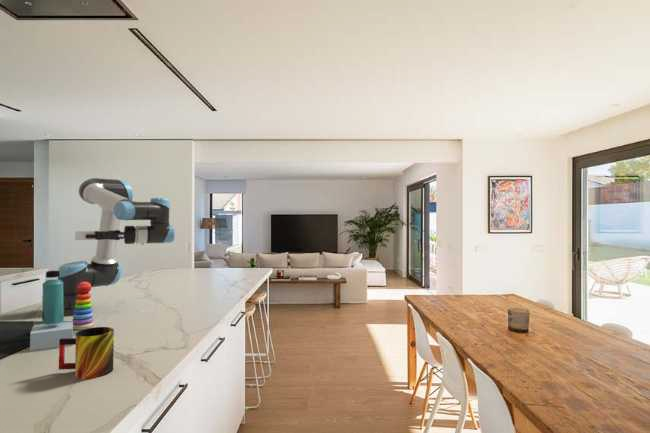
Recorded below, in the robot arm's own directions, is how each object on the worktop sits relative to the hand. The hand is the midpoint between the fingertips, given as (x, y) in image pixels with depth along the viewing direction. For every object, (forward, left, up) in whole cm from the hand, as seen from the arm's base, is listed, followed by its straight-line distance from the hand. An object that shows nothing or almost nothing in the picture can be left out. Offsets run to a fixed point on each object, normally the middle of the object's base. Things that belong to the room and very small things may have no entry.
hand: (75, 235), depth 154 cm
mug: (+21, +44, -38) cm, 62 cm away
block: (+11, +7, -38) cm, 40 cm away
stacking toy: (-6, -4, -38) cm, 39 cm away
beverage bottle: (+11, +6, -32) cm, 35 cm away
